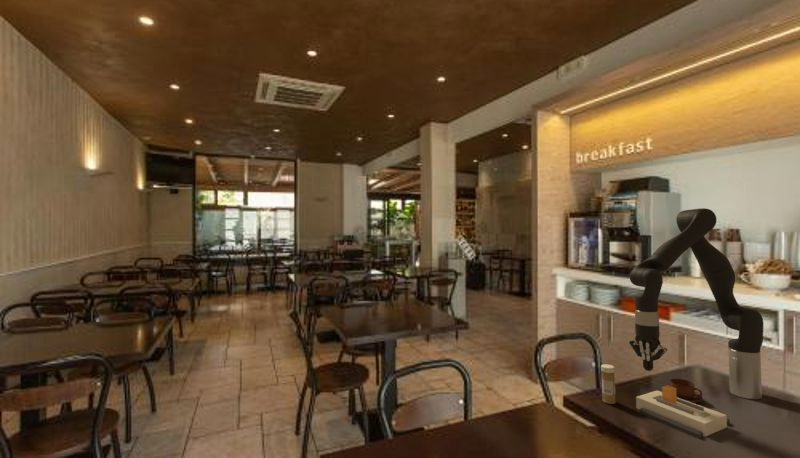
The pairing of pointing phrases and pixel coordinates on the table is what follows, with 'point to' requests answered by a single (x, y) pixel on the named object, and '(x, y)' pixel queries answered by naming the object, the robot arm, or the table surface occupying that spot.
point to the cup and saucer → (686, 390)
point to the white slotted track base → (673, 423)
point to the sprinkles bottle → (608, 383)
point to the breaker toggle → (669, 394)
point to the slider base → (683, 412)
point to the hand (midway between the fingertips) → (648, 370)
